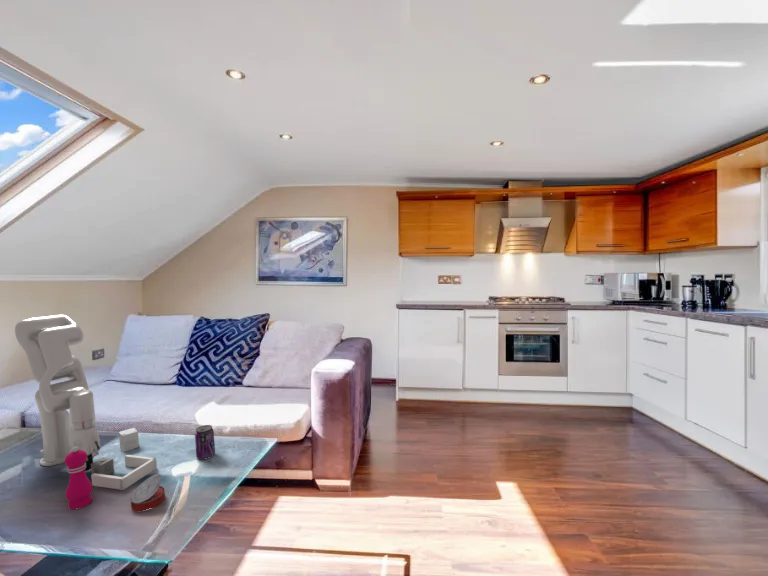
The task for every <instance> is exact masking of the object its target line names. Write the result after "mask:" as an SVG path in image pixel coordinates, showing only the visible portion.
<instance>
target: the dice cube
mask: <svg viewBox="0 0 768 576" xmlns="http://www.w3.org/2000/svg"><path fill="white" fill-rule="evenodd" d="M114 464H115V463H114V458H110V457H102V458H99V459H98V460H96V461H93V463H92V464H91V469H90V471H91V475H92V474H94V473H96V474H103V475H111V474H112V473H113V472H115V465H114Z"/></svg>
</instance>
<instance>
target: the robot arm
mask: <svg viewBox="0 0 768 576" xmlns="http://www.w3.org/2000/svg"><path fill="white" fill-rule="evenodd" d="M14 333H15V338H16V340H17V342H18V344H19V345H20V346H21V348H22V349H23V351H24V353H25V354H26V356H27V358H28V359H27V360H28V363H29V366H30V369H31V373H32V376H33V378H34V380H35V381H36V382H37V383H39V386H38V390H37V391H36V392H35V394H34V400H35V402H36V406H37V409H38V413H39V418H40V427H41V435H42V437H41V438H42V445H43V446H42V447H43V449H41V450H40V451H39V453H40V454H41V455H42V454H43V457H41V459H40V460H39V464H40V466H43V467H50V466H51V467H52V465H53V466H57V464H58V465H61V464H65V458H66V456H67V455H68V454H69V453H71V452H72V448H73V447H78V448H79V449H78V450H83V451H85V452H86V453H87V460H86V461H85V463H86V468H85V472H89V470H90V471H91V464H92V463H93V462H94V458H95V457H97V456H99V454H100V452H99V450H100V449H101V440H100V435H99V434H100V433H99V431H98V426H97V420H96V412H95V411H96V410H95V398H94V393H93V391H91V390H89V388H90V387H89V385H88V384H89V383H88V381H87V378H86V375H85V371H84V368H83V366H82V365H83V364H82V363H81V360H80V359H79V358H78V356H76V355H73V354H72V352H71V349H70V346H75V345H79V344H81V343H82V342H83V341H84V333H83V330H82V328H81V327H80V326H79V324H77V322H76V321H74V320H73V319H72V318H70V316H68V315H66V314H54V315H53V314H52V315H47V316H46V315H45V316H37V317H36V316H35V317H29V318H26V319H22V320H19V321H18V322H17V323H16V324H15V327H14ZM63 379H68V380H64V381H60V380H63ZM55 381H60V382H56V383H51V382H55ZM68 410H69V411H68Z"/></svg>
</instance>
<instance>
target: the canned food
mask: <svg viewBox="0 0 768 576" xmlns="http://www.w3.org/2000/svg"><path fill="white" fill-rule="evenodd" d="M161 480H162V475H161V474H159V473H156V474H153V475H150V477H147V478H146V479H145V480H143V481H142V482H141V483H140V484H139V485H138V486H137V487H136V488H135V489H134V491H133V492H132V495H131V497H130V504H131V506H130V507H131V508H132V509H131V510H132V511H134V512H137V513H139V512H138V511H140V513H141V511H142V512H144V511H143V510H146V509H149V508H153V509H155V508H156V507H159V506H160V505H162V504H163V503H164V502H165V499H166V493H165V488H164V487H163V486H161V485H160V484H161Z"/></svg>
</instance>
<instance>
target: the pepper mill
mask: <svg viewBox="0 0 768 576" xmlns="http://www.w3.org/2000/svg"><path fill="white" fill-rule="evenodd" d="M78 449H79V448H78V447H73V448H72V452H71V453H69V454H68V455H67V456H66V458H65V463H64V465H65V467H67V473H68V474H69V483H68V484H67V487H66V490H65V499H66V500H67V501H68V502H67V503H68V509H69V508H70V509H69V510H72V509H74V510H77V509H76V508H80V509H82V508H85V507H86V506H88V505H90V504H91V502H92V501H93V497H92V496H93V495H92V492H93V486H92V481H90V479H89V478H88V476H87V473H86V471H85V468H86V463H85V461H86V460H87V453H86V452H85V451H83V450H78Z"/></svg>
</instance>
